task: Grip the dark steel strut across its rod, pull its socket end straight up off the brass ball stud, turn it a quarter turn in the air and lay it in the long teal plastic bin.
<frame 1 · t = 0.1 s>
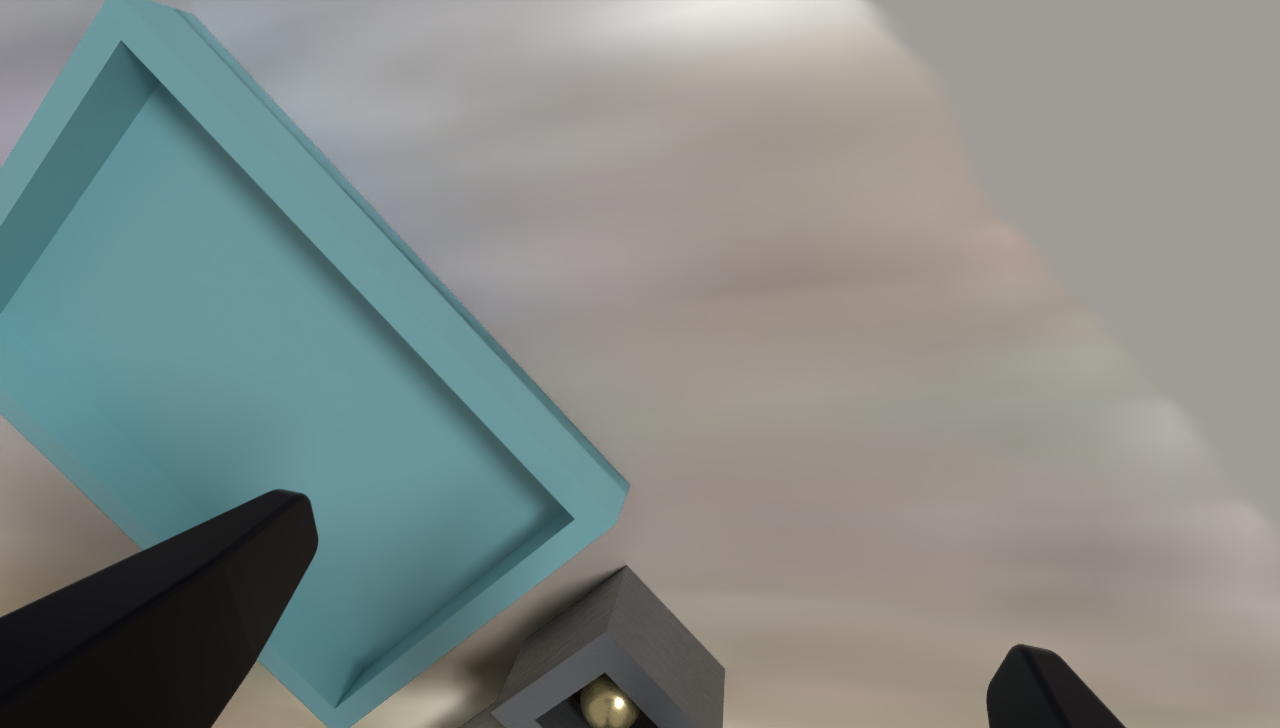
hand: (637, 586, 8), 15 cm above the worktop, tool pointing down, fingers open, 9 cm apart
bin: (296, 392, 26), on the worktop
ball stud: (622, 654, 27), on the worktop
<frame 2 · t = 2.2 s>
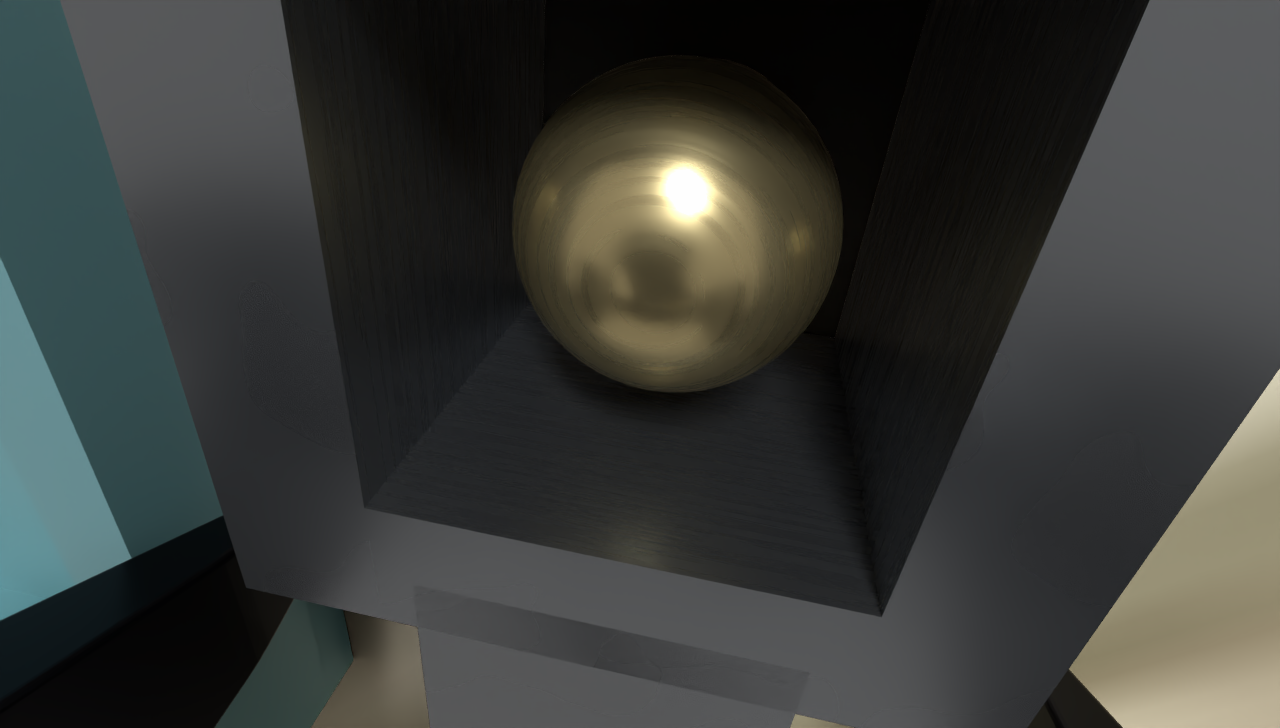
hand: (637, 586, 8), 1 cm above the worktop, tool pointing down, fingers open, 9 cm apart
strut: (639, 621, 11), on the worktop
ball stud: (705, 161, 7), on the worktop
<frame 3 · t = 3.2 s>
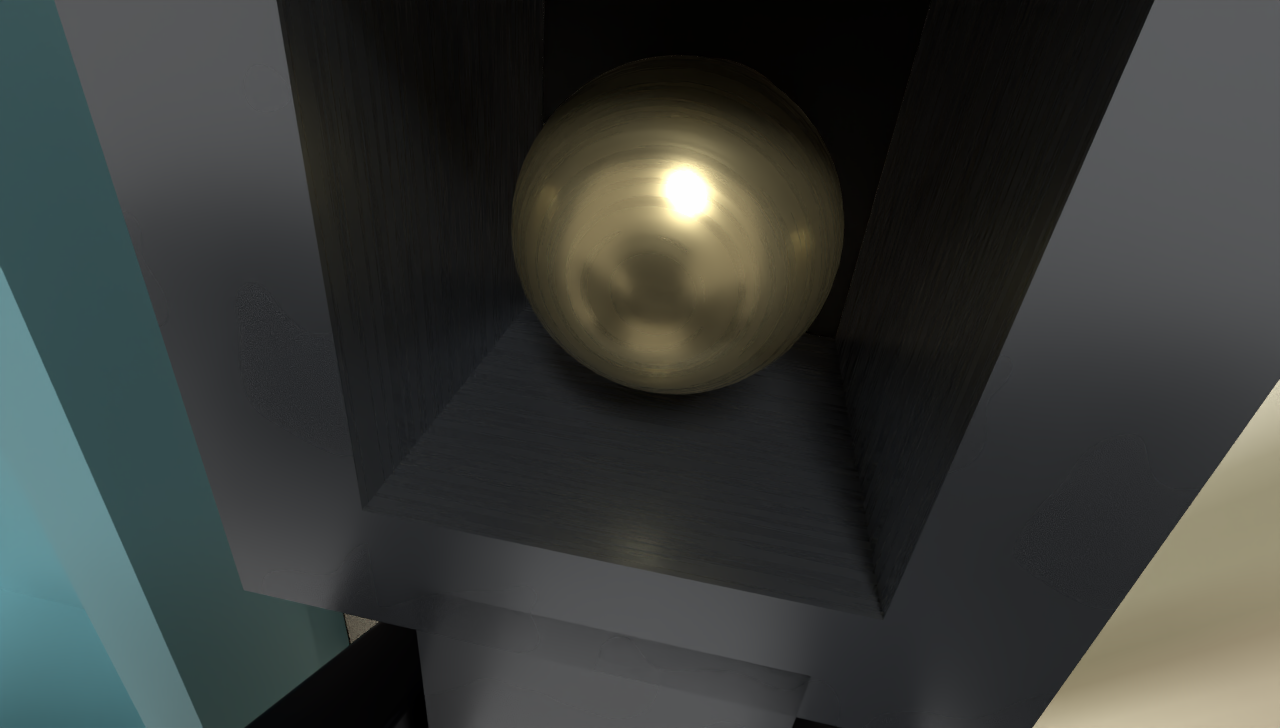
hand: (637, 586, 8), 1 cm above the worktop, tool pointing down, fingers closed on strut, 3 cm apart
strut: (639, 622, 11), on the worktop, touching gripper
ball stud: (705, 161, 7), on the worktop
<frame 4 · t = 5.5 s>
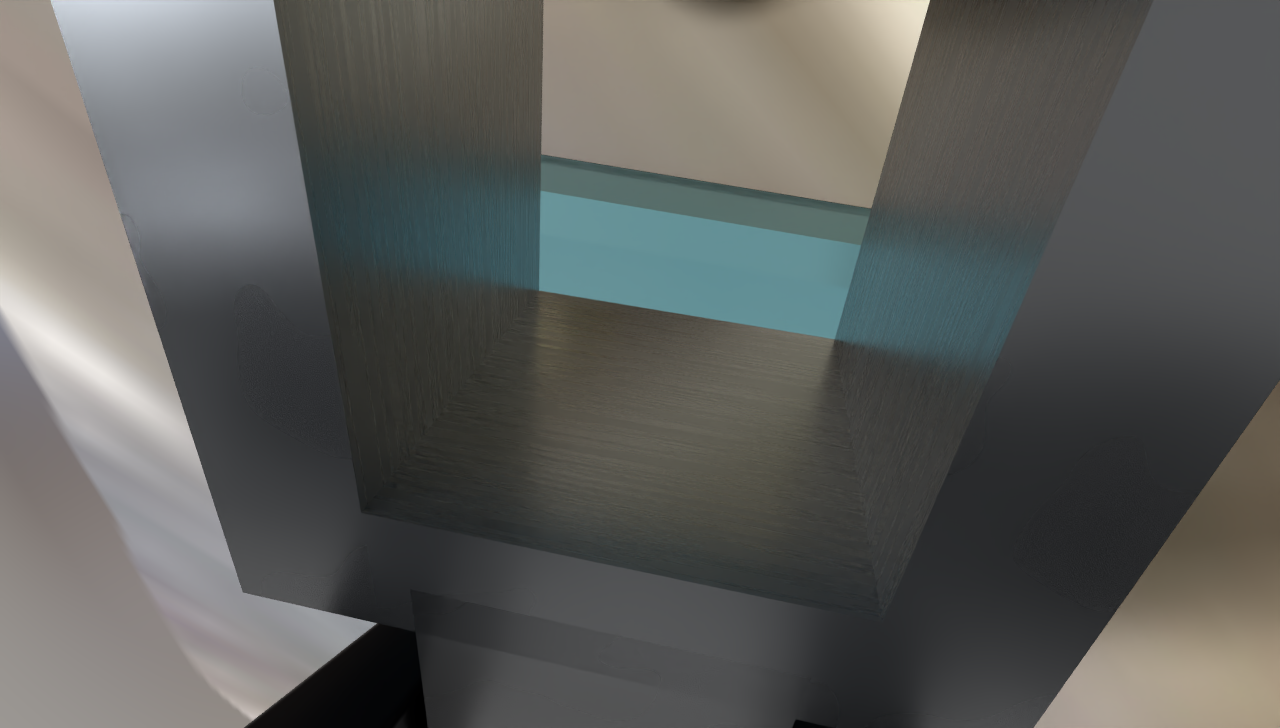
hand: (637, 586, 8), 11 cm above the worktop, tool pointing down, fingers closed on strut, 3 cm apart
bin: (640, 507, 23), on the worktop
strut: (639, 623, 11), point 10 cm above the worktop, touching gripper
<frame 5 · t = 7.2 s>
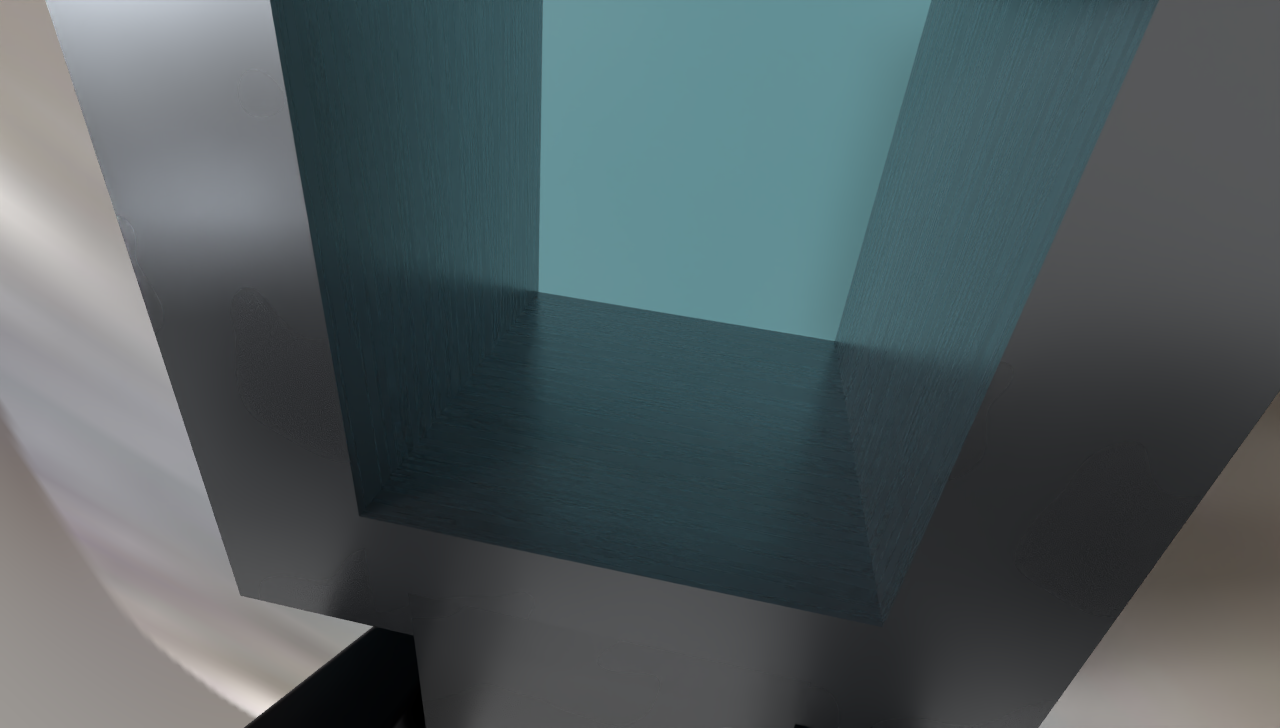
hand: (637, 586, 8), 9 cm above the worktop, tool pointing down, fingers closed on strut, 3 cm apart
bin: (700, 311, 16), on the worktop
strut: (638, 624, 11), point 7 cm above the worktop, touching gripper
when the fingers open (3 cm above the worktop, at t = 8.3 s): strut drops 1 cm, resting on bin.
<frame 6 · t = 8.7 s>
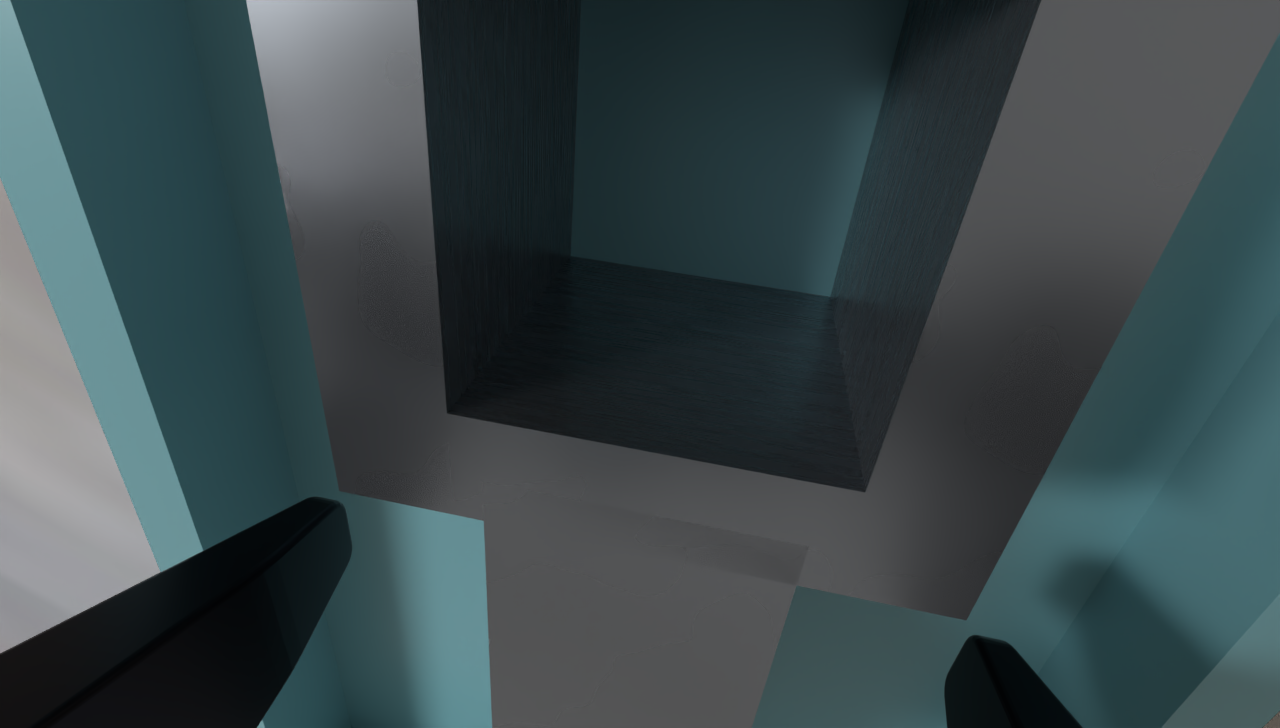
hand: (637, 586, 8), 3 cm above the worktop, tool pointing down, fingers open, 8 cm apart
bin: (674, 430, 11), on the worktop
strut: (654, 565, 12), point 1 cm above the worktop, touching bin
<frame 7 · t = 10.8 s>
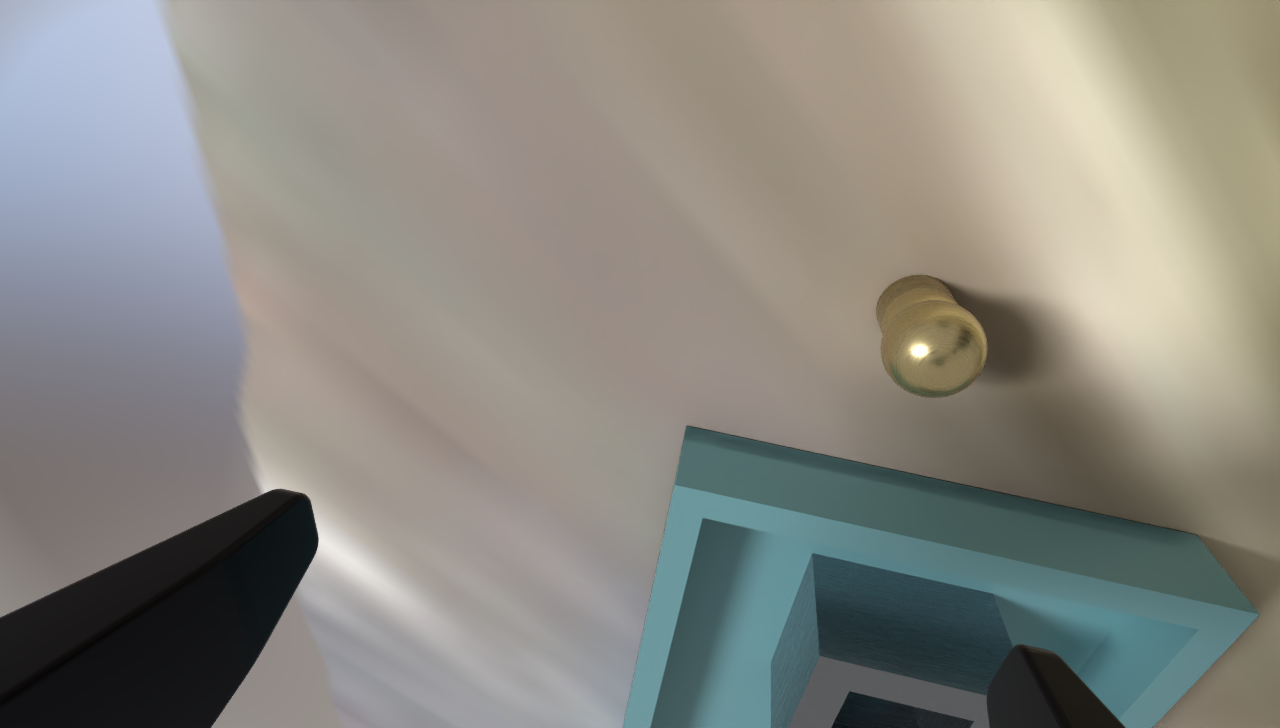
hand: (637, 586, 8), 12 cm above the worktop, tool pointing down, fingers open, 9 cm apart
bin: (831, 692, 26), on the worktop
ball stud: (914, 308, 18), on the worktop
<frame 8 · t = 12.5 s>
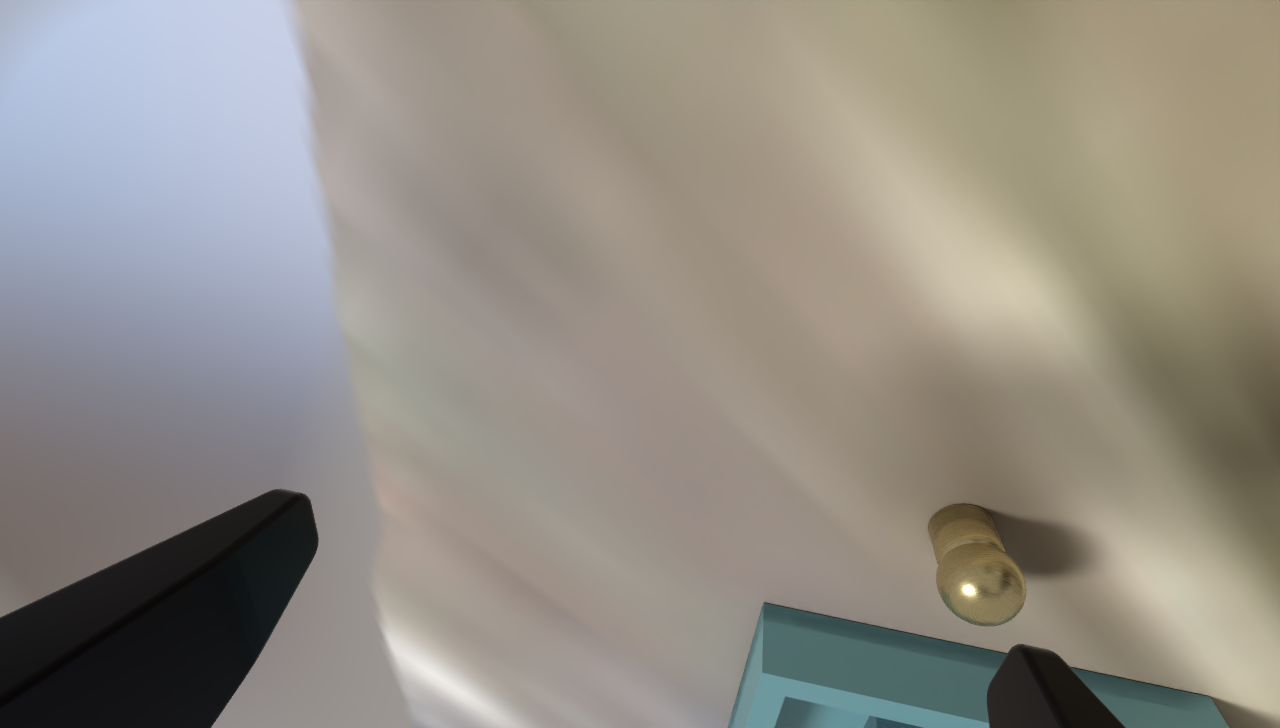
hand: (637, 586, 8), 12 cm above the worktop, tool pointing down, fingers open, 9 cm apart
ball stud: (960, 527, 21), on the worktop
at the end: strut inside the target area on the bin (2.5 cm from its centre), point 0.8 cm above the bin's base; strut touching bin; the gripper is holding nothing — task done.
